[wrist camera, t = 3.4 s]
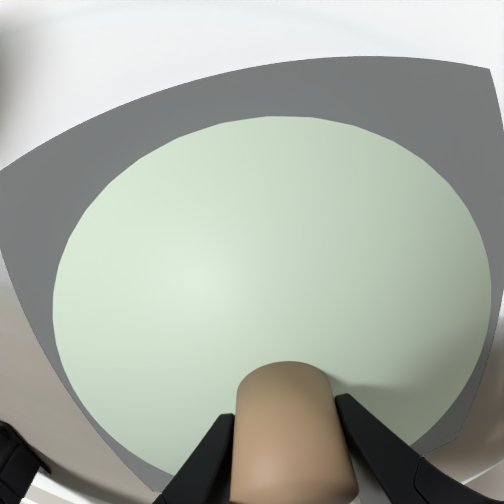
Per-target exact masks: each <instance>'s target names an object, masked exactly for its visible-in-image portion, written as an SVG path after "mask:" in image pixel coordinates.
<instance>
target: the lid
mask: <svg viewBox="0 0 504 504" xmlns="http://www.w3.org/2000/svg"><path fill="white" fill-rule="evenodd" d="M490 311H491V278H490V270H489V263H488V258H487V254H486V251H485V248H484V244H483V241H482V238H481V235H480V232H479V230H478V228H477V226H476V224H475V222H474V220H473V218H472V216H471V214H470V212H469V210H468V209H467V207H466V206H465V204H464V203H463V202H462V200H461V199H460V197H459V196H458V195H457V193H456V192H455V191H454V190H453V188H452V187H451V186H450V184H449V183H448V182H447V181H446V180H445V179H444V178H442V177H441V176H440V175H439V174H438V173H437V172H436V171H435V170H434V169H433V168H432V167H431V166H429V165H428V164H427V163H426V162H425V161H424V160H422V159H421V158H419V157H418V156H416V155H415V154H413V153H411V152H410V151H408V150H407V149H405V148H404V147H402V146H400V145H399V144H397V143H395V142H394V141H392V140H389V139H387V138H384V137H382V136H380V135H377V134H375V133H372V132H370V131H367V130H364V129H362V128H359V127H357V126H353V125H348V124H344V123H339V122H334V121H329V120H324V119H319V118H313V117H286V116H266V117H258V118H251V119H244V120H238V121H232V122H226V123H221V124H217V125H214V126H211V127H208V128H205V129H202V130H199V131H196V132H193V133H190V134H187V135H185V136H182V137H179V138H177V139H175V140H173V141H171V142H169V143H167V144H165V145H163V146H162V147H160V148H158V149H156V150H154V151H153V152H151V153H149V154H147V155H145V156H144V157H142V158H140V159H139V160H138V161H136V162H135V163H134V164H132V165H131V166H130V167H129V168H127V169H126V170H125V171H124V172H122V173H121V174H120V175H119V176H117V177H116V178H115V179H114V180H113V181H111V182H110V183H109V184H108V185H107V186H106V188H105V189H104V190H103V191H102V192H101V193H100V194H99V195H98V197H97V198H96V199H95V200H94V201H93V202H92V204H91V205H90V206H89V207H88V208H87V209H86V211H85V212H84V214H83V216H82V217H81V219H80V221H79V222H78V224H77V226H76V227H75V229H74V231H73V232H72V234H71V236H70V238H69V240H68V242H67V245H66V247H65V250H64V253H63V255H62V258H61V261H60V263H59V266H58V271H57V276H56V281H55V287H54V292H53V325H54V333H55V340H56V345H57V348H58V352H59V355H60V359H61V362H62V365H63V368H64V370H65V372H66V375H67V377H68V379H69V381H70V383H71V385H72V387H73V389H74V391H75V392H76V394H77V396H78V397H79V399H80V400H81V402H82V404H83V405H84V406H85V408H86V409H87V410H88V412H89V413H90V414H91V415H92V417H93V418H94V419H95V420H96V421H97V423H98V424H99V425H100V426H101V427H102V428H103V429H104V430H105V431H106V432H107V433H108V434H109V435H110V436H111V437H112V438H114V439H115V440H116V441H117V442H119V443H120V444H121V445H122V446H124V447H125V448H126V449H127V450H129V451H130V452H132V453H133V454H135V455H136V456H138V457H139V458H141V459H142V460H144V461H146V462H147V463H149V464H151V465H153V466H155V467H157V468H159V469H161V470H163V471H165V472H167V473H169V474H172V475H174V476H175V475H176V473H177V472H178V471H179V469H180V468H181V467H182V465H183V464H184V463H185V462H186V460H187V459H188V458H189V456H190V455H191V453H192V452H193V451H194V449H195V448H196V447H197V445H198V444H199V443H200V441H201V440H202V438H203V437H204V436H205V434H206V433H207V432H208V430H209V429H210V427H211V426H212V424H213V423H214V422H215V420H216V419H217V417H218V416H219V415H220V414H224V413H233V414H234V415H235V423H234V436H233V450H232V463H231V477H230V491H229V504H349V503H351V502H352V501H353V500H354V499H355V498H356V497H357V496H358V494H359V487H358V483H357V479H356V475H355V472H354V468H353V464H352V460H351V456H350V453H349V449H348V445H347V442H346V438H345V435H344V431H343V428H342V424H341V421H340V417H339V414H338V410H337V407H336V403H335V396H336V395H339V394H344V393H349V394H350V395H351V396H353V397H354V398H355V399H356V400H357V401H358V402H359V403H360V404H361V405H363V406H364V407H365V408H366V409H367V410H368V411H369V412H371V413H372V414H373V415H374V416H375V417H376V418H377V419H379V420H380V421H381V422H382V423H383V424H384V425H385V426H387V427H388V428H389V429H390V430H391V431H392V432H394V433H395V434H396V435H397V436H398V437H399V438H401V439H402V440H403V441H404V442H405V443H406V444H408V445H409V446H410V445H411V444H413V443H414V442H415V441H417V440H418V439H419V438H420V437H421V436H423V435H424V434H425V433H426V432H427V431H428V430H429V429H430V428H431V427H432V426H433V425H434V424H435V423H436V422H437V421H438V420H439V419H440V418H441V417H442V416H443V415H444V414H445V412H446V411H447V410H448V409H449V408H450V406H451V405H452V404H453V402H454V401H455V400H456V398H457V397H458V396H459V394H460V393H461V391H462V390H463V388H464V386H465V384H466V383H467V381H468V379H469V378H470V376H471V374H472V372H473V370H474V368H475V365H476V363H477V361H478V358H479V356H480V354H481V351H482V347H483V344H484V341H485V337H486V334H487V330H488V324H489V318H490Z"/></svg>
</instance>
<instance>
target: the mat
mask: <svg viewBox="0 0 504 504" xmlns="http://www.w3.org/2000/svg"><path fill="white" fill-rule="evenodd" d="M266 116H286V117H313V118H319V119H324V120H329V121H334V122H339V123H344V124H348V125H353V126H357V127H359V128H362V129H364V130H367V131H370V132H372V133H375V134H377V135H380V136H382V137H384V138H387V139H389V140H392V141H394V142H395V143H397V144H399V145H400V146H402V147H404V148H405V149H407V150H408V151H410V152H411V153H413V154H415V155H416V156H418V157H419V158H421V159H422V160H424V161H425V162H426V163H427V164H428V165H429V166H431V167H432V168H433V169H434V170H435V171H436V172H437V173H438V174H439V175H440V176H441V177H442V178H444V179H445V180H446V181H447V182H448V183H449V184H450V186H451V187H452V188H453V190H454V191H455V192H456V193H457V195H458V196H459V197H460V199H461V200H462V202H463V203H464V204H465V206H466V207H467V209H468V210H469V212H470V214H471V216H472V218H473V220H474V222H475V224H476V226H477V228H478V230H479V232H480V235H481V238H482V241H483V244H484V248H485V251H486V254H487V258H488V263H489V270H490V278H491V311H490V318H489V324H488V330H487V334H486V337H485V341H484V344H483V347H482V351H481V354H480V356H479V358H478V361H477V363H476V365H475V368H474V370H473V372H472V374H471V376H470V378H469V379H468V381H467V383H466V384H465V386H464V388H463V390H462V391H461V393H460V394H459V396H458V397H457V398H456V400H455V401H454V402H453V404H452V405H451V406H450V408H449V409H448V410H447V411H446V412H445V414H444V415H443V416H442V417H441V418H440V419H439V420H438V421H437V422H436V423H435V424H434V425H433V426H432V427H431V428H430V429H429V430H428V431H427V432H426V433H425V434H424V435H423V436H421V437H420V438H419V439H418V440H417V441H415V442H414V443H413V444H411V445H410V447H411V448H412V449H414V450H415V451H416V452H417V453H418V454H420V455H423V454H425V453H427V452H430V451H432V450H434V449H436V448H438V447H441V446H443V445H445V444H447V443H449V442H451V441H453V440H455V439H456V437H457V435H458V433H459V431H460V429H461V427H462V425H463V423H464V421H465V418H466V416H467V414H468V411H469V409H470V407H471V404H472V402H473V399H474V397H475V394H476V392H477V389H478V386H479V384H480V381H481V378H482V375H483V372H484V369H485V366H486V363H487V359H488V356H489V353H490V349H491V346H492V342H493V338H494V334H495V330H496V326H497V321H498V317H499V312H500V307H501V302H502V296H503V290H504V130H503V124H502V118H501V113H500V108H499V104H498V99H497V95H496V91H495V87H494V83H493V79H492V76H491V72H490V69H487V68H482V67H477V66H472V65H467V64H461V63H455V62H448V61H440V60H431V59H421V58H408V57H387V56H353V57H331V58H317V59H306V60H297V61H289V62H282V63H275V64H268V65H262V66H256V67H251V68H246V69H241V70H236V71H231V72H227V73H222V74H218V75H214V76H210V77H206V78H202V79H199V80H195V81H191V82H188V83H184V84H181V85H178V86H174V87H171V88H168V89H165V90H162V91H159V92H156V93H153V94H150V95H148V96H145V97H142V98H139V99H137V100H134V101H131V102H129V103H126V104H124V105H121V106H119V107H116V108H114V109H112V110H109V111H107V112H105V113H102V114H100V115H98V116H96V117H94V118H91V119H89V120H87V121H85V122H83V123H81V124H79V125H77V126H75V127H73V128H71V129H69V130H67V131H65V132H63V133H61V134H60V135H58V136H56V137H54V138H52V139H50V140H49V141H47V142H45V143H43V144H42V145H40V146H38V147H37V148H35V149H33V150H32V151H30V152H28V153H27V154H25V155H24V156H22V157H20V158H19V159H17V160H16V161H14V162H13V163H11V164H10V165H8V166H7V167H5V168H4V169H2V170H1V171H0V249H1V253H2V256H3V259H4V262H5V265H6V268H7V271H8V274H9V276H10V279H11V282H12V284H13V287H14V289H15V292H16V294H17V297H18V299H19V302H20V304H21V306H22V309H23V311H24V313H25V315H26V317H27V320H28V322H29V324H30V326H31V328H32V330H33V332H34V334H35V336H36V338H37V340H38V342H39V344H40V346H41V348H42V349H43V351H44V353H45V355H46V357H47V358H48V360H49V362H50V364H51V365H52V367H53V369H54V370H55V372H56V374H57V375H58V377H59V379H60V380H61V382H62V383H63V385H64V386H65V388H66V390H67V391H68V393H69V394H70V396H71V397H72V399H73V400H74V401H75V403H76V404H77V406H78V407H79V408H80V410H81V411H82V413H83V414H84V415H85V417H86V418H87V419H88V421H89V422H90V423H91V425H92V426H93V427H94V428H95V430H96V431H97V432H98V433H99V435H100V436H101V437H102V438H103V440H104V441H105V442H106V443H107V444H108V446H109V447H110V448H111V449H112V450H113V451H114V452H115V454H116V455H117V456H118V457H119V458H120V459H121V460H122V461H123V462H124V463H125V464H126V466H127V467H128V468H129V469H130V470H131V471H132V472H133V473H134V474H135V475H136V476H137V477H138V478H139V479H140V480H141V481H142V482H143V483H144V484H145V485H146V486H148V487H149V488H150V489H151V490H152V491H154V492H162V491H163V490H164V489H165V487H166V486H167V485H168V484H169V482H170V481H171V480H172V478H173V477H174V475H172V474H169V473H167V472H165V471H163V470H161V469H159V468H157V467H155V466H153V465H151V464H149V463H147V462H146V461H144V460H142V459H141V458H139V457H138V456H136V455H135V454H133V453H132V452H130V451H129V450H127V449H126V448H125V447H124V446H122V445H121V444H120V443H119V442H117V441H116V440H115V439H114V438H112V437H111V436H110V435H109V434H108V433H107V432H106V431H105V430H104V429H103V428H102V427H101V426H100V425H99V424H98V423H97V421H96V420H95V419H94V418H93V417H92V415H91V414H90V413H89V412H88V410H87V409H86V408H85V406H84V405H83V404H82V402H81V400H80V399H79V397H78V396H77V394H76V392H75V391H74V389H73V387H72V385H71V383H70V381H69V379H68V377H67V375H66V372H65V370H64V368H63V365H62V362H61V359H60V355H59V352H58V348H57V345H56V340H55V333H54V325H53V292H54V287H55V281H56V276H57V271H58V266H59V263H60V261H61V258H62V255H63V253H64V250H65V247H66V245H67V242H68V240H69V238H70V236H71V234H72V232H73V231H74V229H75V227H76V226H77V224H78V222H79V221H80V219H81V217H82V216H83V214H84V212H85V211H86V209H87V208H88V207H89V206H90V205H91V204H92V202H93V201H94V200H95V199H96V198H97V197H98V195H99V194H100V193H101V192H102V191H103V190H104V189H105V188H106V186H107V185H108V184H109V183H110V182H111V181H113V180H114V179H115V178H116V177H117V176H119V175H120V174H121V173H122V172H124V171H125V170H126V169H127V168H129V167H130V166H131V165H132V164H134V163H135V162H136V161H138V160H139V159H140V158H142V157H144V156H145V155H147V154H149V153H151V152H153V151H154V150H156V149H158V148H160V147H162V146H163V145H165V144H167V143H169V142H171V141H173V140H175V139H177V138H179V137H182V136H185V135H187V134H190V133H193V132H196V131H199V130H202V129H205V128H208V127H211V126H214V125H217V124H221V123H226V122H232V121H238V120H244V119H251V118H258V117H266Z"/></svg>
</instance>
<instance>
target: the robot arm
mask: <svg viewBox="0 0 504 504" xmlns="http://www.w3.org/2000/svg"><path fill="white" fill-rule="evenodd" d="M335 403H336V407H337V410H338V414H339V417H340V421H341V424H342V428H343V431H344V435H345V438H346V442H347V445H348V449H349V453H350V456H351V460H352V464H353V468H354V472H355V475H356V479H357V483H358V487H359V494H358V497H359V500H360V503H361V504H504V501H498V500H494V499H491V498H488V497H486V496H484V495H482V494H480V493H478V492H476V491H474V490H472V489H470V488H469V487H467V486H465V485H463V484H461V483H459V482H458V481H456V480H454V479H453V478H451V477H449V476H448V475H446V474H444V473H443V472H441V471H440V470H439V469H437V468H436V467H435V466H433V465H432V464H431V463H429V462H428V461H427V460H426V459H425V458H423V457H420V454H418V453H417V452H416V451H415V450H414V449H412V448H411V447H410V446H409V445H408V444H406V443H405V442H404V441H403V440H402V439H401V438H399V437H398V436H397V435H396V434H395V433H394V432H392V431H391V430H390V429H389V428H388V427H387V426H385V425H384V424H383V423H382V422H381V421H380V420H379V419H377V418H376V417H375V416H374V415H373V414H372V413H371V412H369V411H368V410H367V409H366V408H365V407H364V406H363V405H361V404H360V403H359V402H358V401H357V400H356V399H355V398H354V397H353V396H351V395H350V394H349V393H344V394H339V395H336V396H335ZM234 423H235V415H234V414H233V413H224V414H220V415H219V416H218V417H217V419H216V420H215V422H214V423H213V424H212V426H211V427H210V429H209V430H208V432H207V433H206V434H205V436H204V437H203V438H202V440H201V441H200V443H199V444H198V445H197V447H196V448H195V449H194V451H193V452H192V453H191V455H190V456H189V458H188V459H187V460H186V462H185V463H184V464H183V465H182V467H181V468H180V469H179V471H178V472H177V473H176V475H175V476H174V477H173V478H172V480H171V481H170V482H169V484H168V485H167V486H166V487H165V489H164V490H163V491H162V494H160V495H159V496H158V497H157V498H156V500H155V501H154V502H153V503H152V504H229V491H230V477H231V463H232V450H233V436H234ZM37 472H40V473H43V474H45V475H48V476H50V475H51V471H50V470H49V469H48V468H47V467H46V466H45V465H44V464H43V463H42V462H41V461H40V460H39V459H38V458H37V457H36V456H35V455H34V454H33V453H32V452H31V451H30V450H29V449H28V448H27V447H26V446H25V444H24V443H23V442H22V441H21V440H20V439H19V438H18V437H17V435H16V434H15V433H14V432H13V431H12V429H11V428H10V427H9V426H8V425H7V424H5V423H3V422H0V504H20V502H21V500H22V498H24V497H25V495H26V493H27V491H28V489H29V487H30V485H31V483H32V482H33V480H34V478H35V476H36V474H37Z"/></svg>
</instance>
